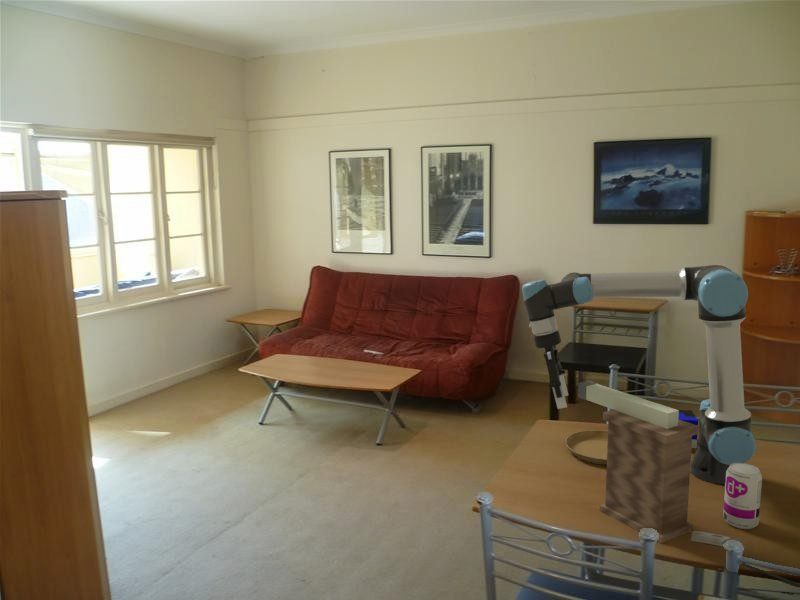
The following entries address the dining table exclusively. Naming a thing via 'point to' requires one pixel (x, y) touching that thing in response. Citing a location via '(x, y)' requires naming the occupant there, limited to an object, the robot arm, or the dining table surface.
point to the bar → (629, 404)
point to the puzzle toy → (690, 418)
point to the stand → (648, 474)
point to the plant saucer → (589, 445)
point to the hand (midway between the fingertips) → (563, 401)
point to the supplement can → (742, 495)
